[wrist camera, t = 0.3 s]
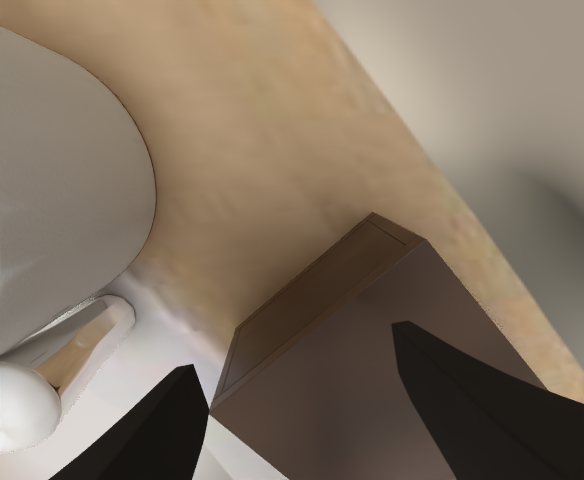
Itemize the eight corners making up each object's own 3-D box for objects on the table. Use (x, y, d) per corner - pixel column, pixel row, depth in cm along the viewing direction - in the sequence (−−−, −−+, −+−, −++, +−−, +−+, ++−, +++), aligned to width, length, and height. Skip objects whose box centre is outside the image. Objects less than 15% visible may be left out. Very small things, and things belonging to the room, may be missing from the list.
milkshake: (58, 302, 20) (-158, 431, 10) (125, 276, 19) (-33, 385, 10) (91, 353, 21) (-74, 513, 11) (156, 330, 21) (41, 476, 11)
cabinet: (481, 341, 21) (580, 429, 14) (349, 434, 23) (377, 552, 16) (372, 211, 19) (426, 238, 12) (235, 328, 21) (207, 413, 14)
